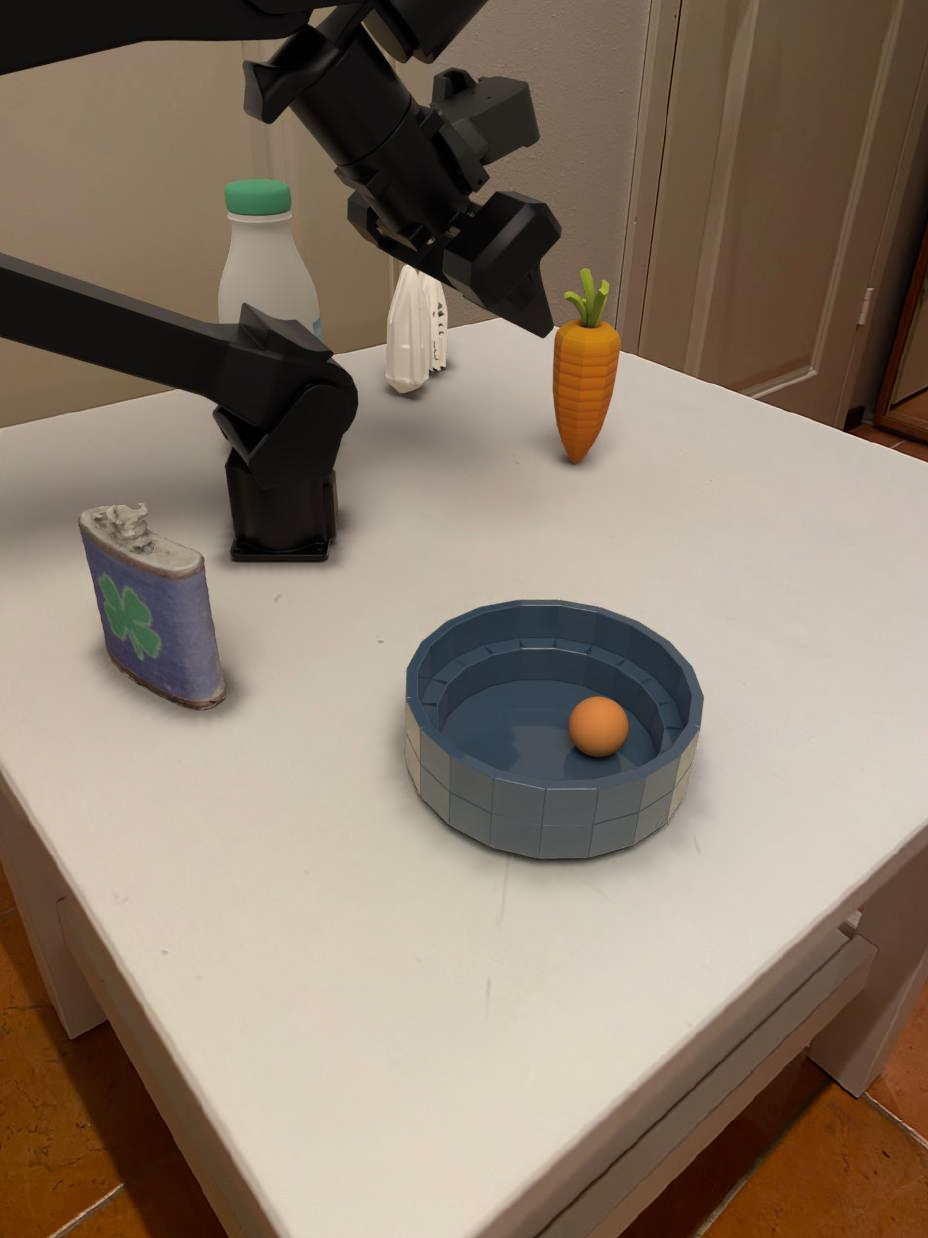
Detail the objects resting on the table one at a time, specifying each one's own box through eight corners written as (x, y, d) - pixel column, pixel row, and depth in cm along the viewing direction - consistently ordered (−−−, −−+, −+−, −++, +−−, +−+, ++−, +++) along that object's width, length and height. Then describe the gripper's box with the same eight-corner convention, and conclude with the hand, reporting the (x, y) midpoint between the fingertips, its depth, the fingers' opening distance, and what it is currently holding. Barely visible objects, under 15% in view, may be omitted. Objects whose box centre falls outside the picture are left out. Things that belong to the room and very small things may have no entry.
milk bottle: (314, 470, 74) (292, 198, 62) (220, 461, 75) (182, 191, 63) (340, 430, 80) (325, 176, 68) (253, 423, 81) (224, 170, 69)
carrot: (603, 480, 73) (626, 285, 65) (540, 473, 74) (555, 279, 65) (608, 453, 77) (630, 266, 69) (548, 447, 78) (563, 261, 69)
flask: (236, 694, 51) (208, 524, 45) (193, 722, 49) (158, 549, 43) (135, 630, 56) (97, 468, 50) (91, 653, 54) (47, 488, 48)
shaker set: (421, 405, 85) (421, 280, 78) (377, 400, 85) (373, 276, 79) (452, 360, 94) (454, 245, 88) (412, 356, 95) (411, 242, 89)
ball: (569, 769, 46) (575, 724, 45) (562, 728, 49) (567, 684, 47) (629, 769, 46) (637, 724, 45) (619, 728, 49) (626, 684, 47)
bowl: (404, 869, 42) (402, 790, 39) (409, 671, 53) (408, 599, 50) (717, 865, 42) (738, 787, 39) (654, 670, 54) (667, 598, 51)
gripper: (558, 29, 46) (680, 257, 57) (396, 8, 59) (521, 196, 70) (405, 200, 47) (555, 392, 58) (279, 142, 60) (421, 307, 71)
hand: (511, 312), depth 64 cm, fingers open, 9 cm apart
